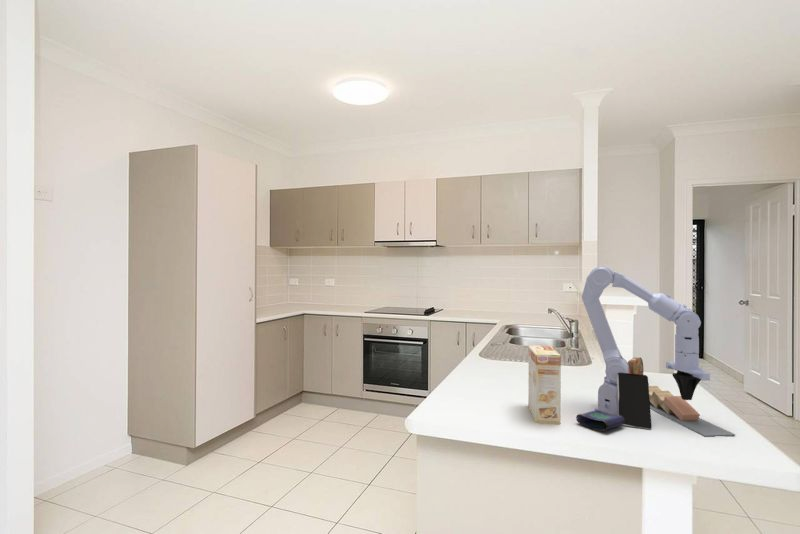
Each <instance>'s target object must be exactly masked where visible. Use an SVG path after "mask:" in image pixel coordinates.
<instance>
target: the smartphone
mask: <svg viewBox="0 0 800 534" xmlns="http://www.w3.org/2000/svg"><path fill="white" fill-rule="evenodd" d="M649 386H650V384H649V376H647V374H643V375H639V374H629V373H618V374H617V390H618V413H619V415H620V416H623V417H624V419H625V423H624V424H622V425H620V426H621V427H630V428H636V429H643V430H644V429H646V430H651V429H652V415H651V414H652V413H651V409H650V399H649Z"/></svg>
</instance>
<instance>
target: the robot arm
mask: <svg viewBox="0 0 800 534" xmlns="http://www.w3.org/2000/svg"><path fill="white" fill-rule="evenodd" d="M585 279H586V280H585V284H584V287H583V291H582V295H581V300H582V303H583V305H584V308H585V310H586V313H587V316H588V319H589V322H590V323H591V326H592V329H593V331H594V334H595V337H596V339H597V342H598V345H599V347H600V350H601V354H602V358H603V361H604V364H605V370H604V371H605V375H606V376H604V377H603V378H604V379H603V384H601V385H600V386H599V387H598V391H597V407H595V408H594V409H595V410H599V411H601V412H603V413H607V414H613V415H619V413H618V390H617V374H618V373H629V365H628V361H627V360H626V359H625V358H624V357H623V355H622V353H621V351H620V349H619V347H618V345H617V342H616V339H615V337H614V335H613V332H612V329H611V326H610V325H609V322H608V318H607V317H606V314H605V311H604V308H603V306H602V303H601V301H600V298H601V296H602V294H603V292H604V291H605V290H606V288H607V287H609V285H610V284H612V285H611V288H612V287H613V288H622V289H625V290H626V291H628V292H629V293H631V294H632V295H633V296H637V297H638V298H640V299H641V300H643V301H645V302H646V303H647V304H648V309H649V310H651V311H652V312H653V313H656V314H657V315H658V316H660V317H661V318H663V319H665V320H667V321H669V322H673V323H674V325H675V334H674V361H665V368H666V369H668V370H674V371H676V372H673V373H672V377H673V379H674V380H675V382H676V385H677V387H678V390H679V393H680V396H681V398H682V399H684V400H686V401H692V399H693V396H694V393H695V390H696V388H697V386H698V384H700V382H701V381H707V382H708V381H711V374H710V373H709V372H707V371H706V370H703V368H702V367H701V366H700V355H699V354H700V338H699V337H700V336H699V332H700V331H699V328H700V327H701V324H702V321H701V318H700V317H699V315H698V314H697V313H696V312H694V311H693V310H692V309H690V308H687V307H688V305H686V304H684V303H683V304H681V303H679V302H678V301H676V300H675V299H672V296H671V295H670V294H668V293H666V294H664V293H662V292H659V293H658V292H657V293H653V292H652V291H650V290H649V289H647V288H645V287H644V286H642V285H641V284H639V283H638V282H636V281H634V280H633V279H632V278H630V277H628V276H627V275H625V274H623V273H620V272H618V271H615V270H612V269H610V268H609V267H607V266H596V267H594V268H593V269H592V270H591V271H590V273H589V274H588V275H587V277H586V278H585ZM595 410H594V411H595Z"/></svg>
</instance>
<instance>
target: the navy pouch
mask: <svg viewBox="0 0 800 534" xmlns="http://www.w3.org/2000/svg"><path fill="white" fill-rule="evenodd" d="M575 420H576V421H577V423H579V424H580V425H582V426H585V427H587V428H588V429H589V428H590V429H592V430H595V431H601V432H602V431H607V430H609V429H612V428H615V427H619V426H621V425H622V424H624V423H625V419H624V417H623V416H620V415H613V414H608V413H605V412H601V411H599V410H591V411H588V412H583V413H579V414H578V413H577V415H576V416H575Z"/></svg>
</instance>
